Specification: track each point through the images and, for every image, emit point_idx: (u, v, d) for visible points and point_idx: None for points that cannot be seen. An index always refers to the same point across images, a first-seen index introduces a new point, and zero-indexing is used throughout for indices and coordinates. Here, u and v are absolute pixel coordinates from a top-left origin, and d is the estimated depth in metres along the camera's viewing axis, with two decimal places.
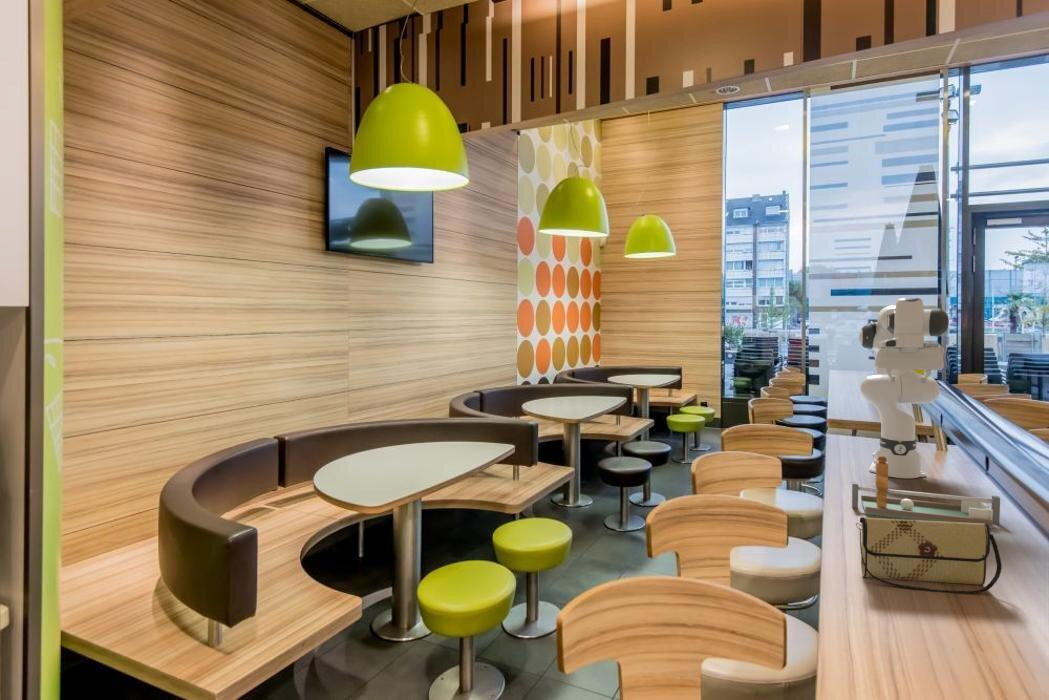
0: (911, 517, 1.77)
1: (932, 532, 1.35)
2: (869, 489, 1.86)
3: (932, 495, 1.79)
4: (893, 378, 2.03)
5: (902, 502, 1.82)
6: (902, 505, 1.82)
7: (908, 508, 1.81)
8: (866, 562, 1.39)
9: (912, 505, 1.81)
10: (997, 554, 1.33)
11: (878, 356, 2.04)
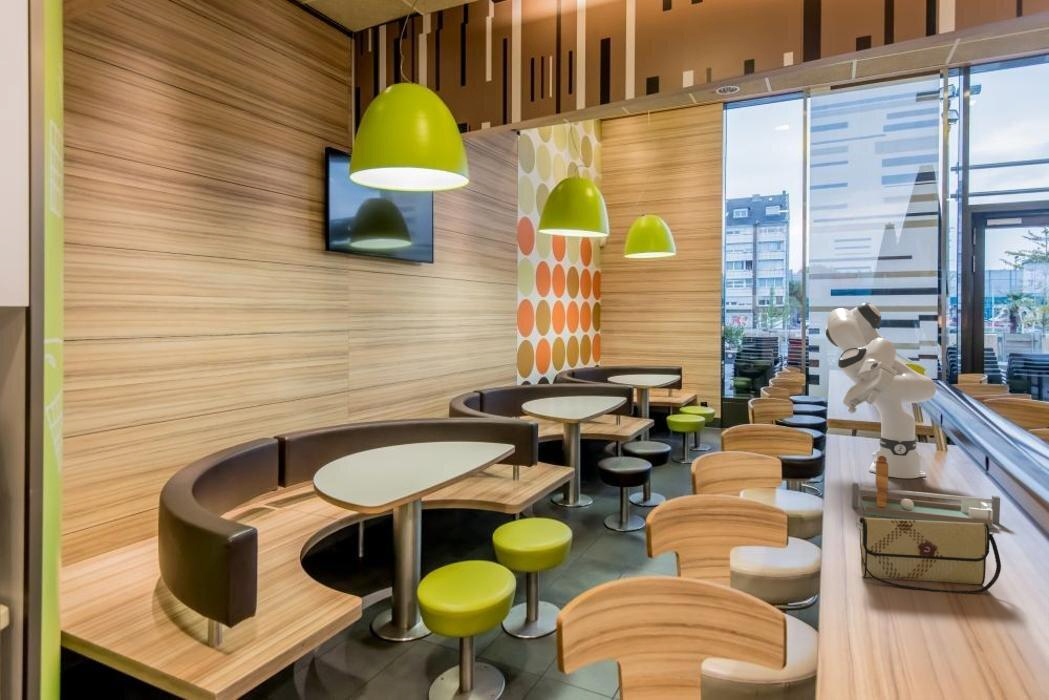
0: (911, 517, 1.77)
1: (932, 531, 1.35)
2: (869, 489, 1.86)
3: (932, 495, 1.79)
4: None
5: (902, 502, 1.82)
6: (902, 505, 1.82)
7: (908, 508, 1.81)
8: (866, 562, 1.39)
9: (912, 505, 1.81)
10: (996, 554, 1.33)
11: (892, 380, 1.88)
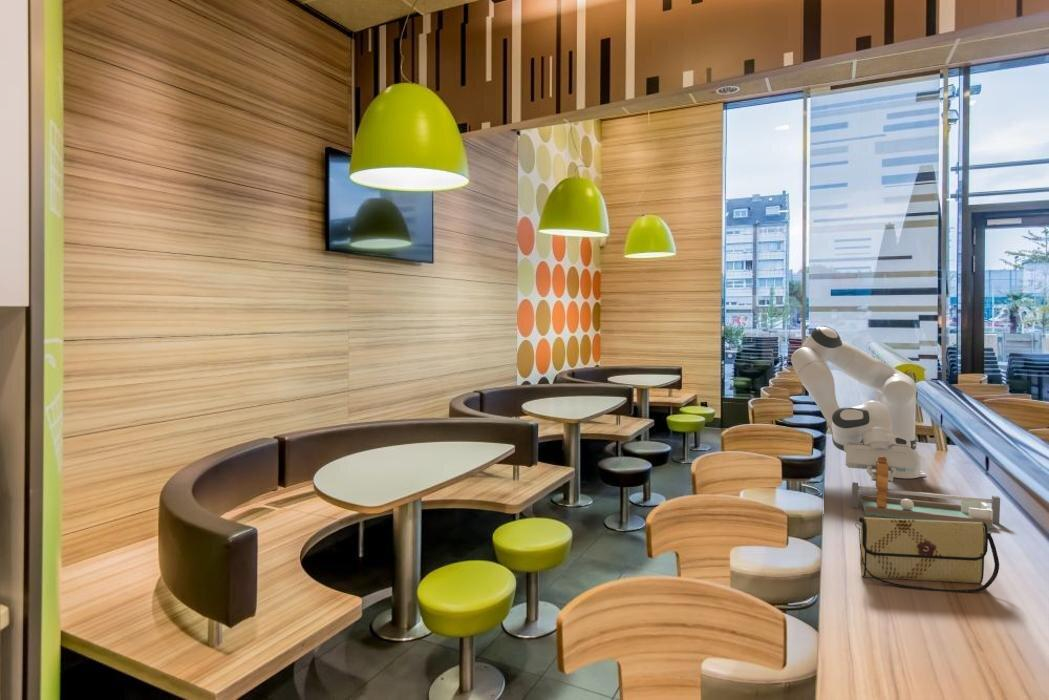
0: (911, 517, 1.77)
1: (931, 531, 1.36)
2: (869, 489, 1.86)
3: (932, 495, 1.79)
4: None
5: (902, 502, 1.82)
6: (902, 505, 1.82)
7: (908, 508, 1.81)
8: (865, 562, 1.39)
9: (912, 505, 1.81)
10: (995, 553, 1.33)
11: None
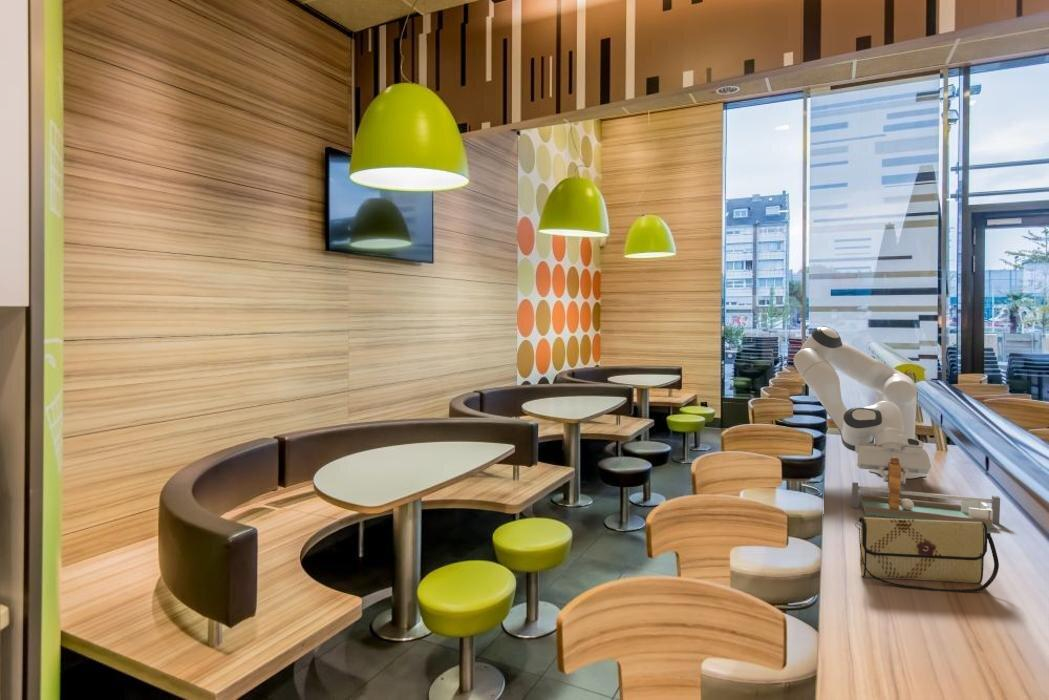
0: (911, 517, 1.77)
1: (931, 531, 1.36)
2: (869, 489, 1.86)
3: (932, 495, 1.79)
4: None
5: (902, 502, 1.82)
6: (902, 505, 1.82)
7: (908, 508, 1.81)
8: (865, 562, 1.39)
9: (912, 505, 1.81)
10: (994, 552, 1.34)
11: None
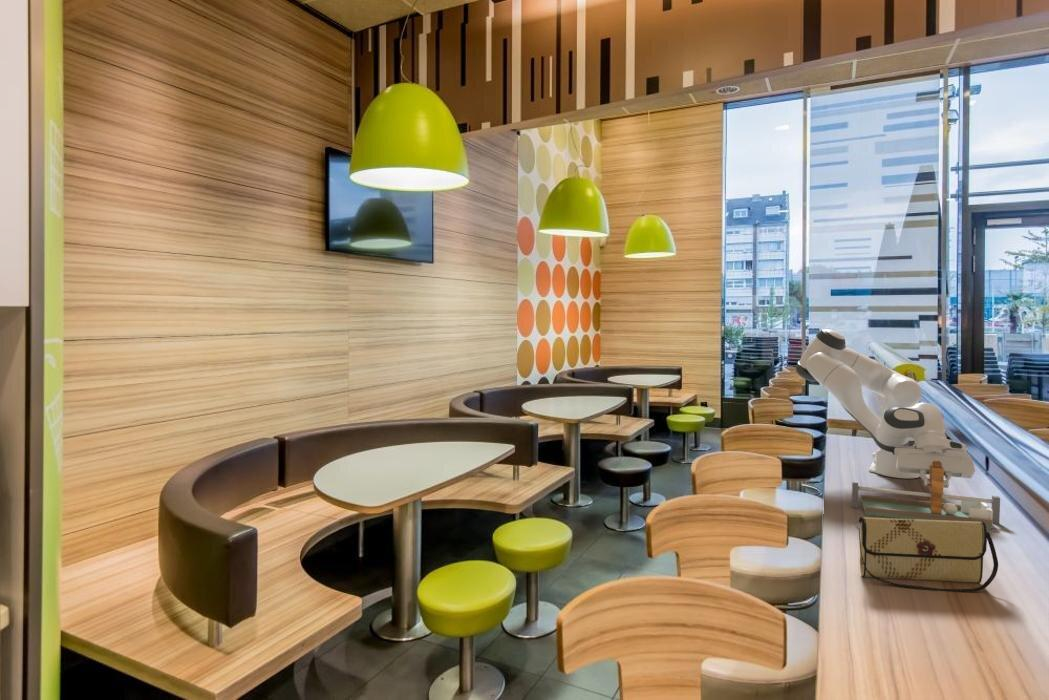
0: (911, 517, 1.77)
1: (930, 530, 1.36)
2: (869, 489, 1.86)
3: None
4: None
5: (945, 507, 1.77)
6: (945, 510, 1.77)
7: (952, 513, 1.76)
8: (865, 562, 1.39)
9: (956, 509, 1.76)
10: (993, 552, 1.34)
11: None
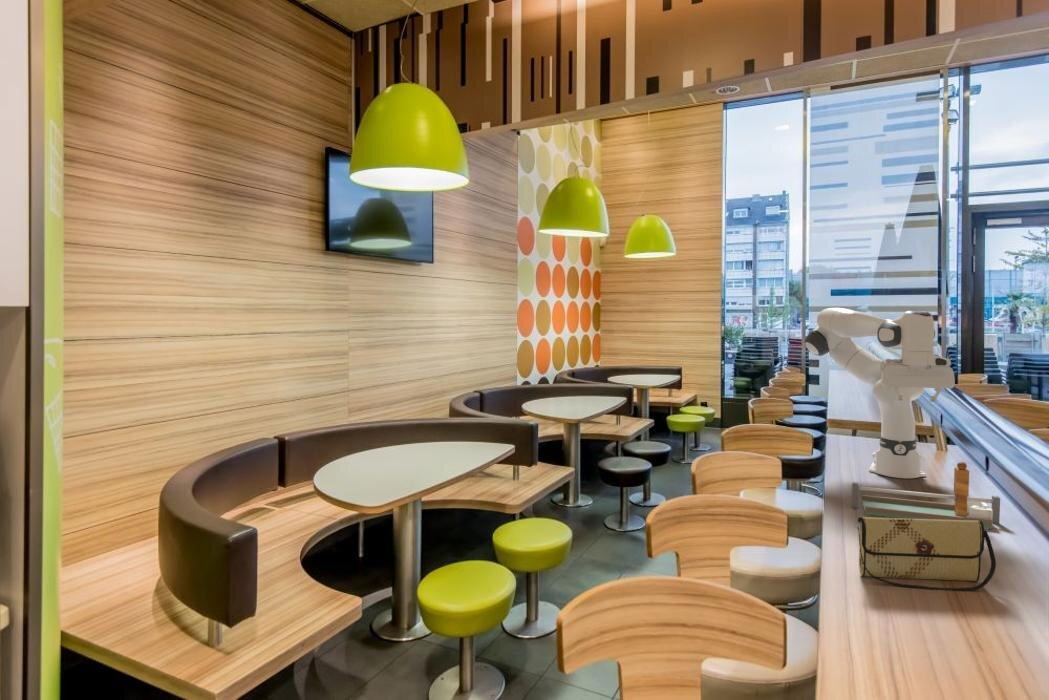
0: (911, 517, 1.77)
1: (929, 530, 1.36)
2: (869, 489, 1.86)
3: (932, 495, 1.79)
4: None
5: None
6: None
7: None
8: (865, 561, 1.39)
9: None
10: (991, 550, 1.35)
11: None
